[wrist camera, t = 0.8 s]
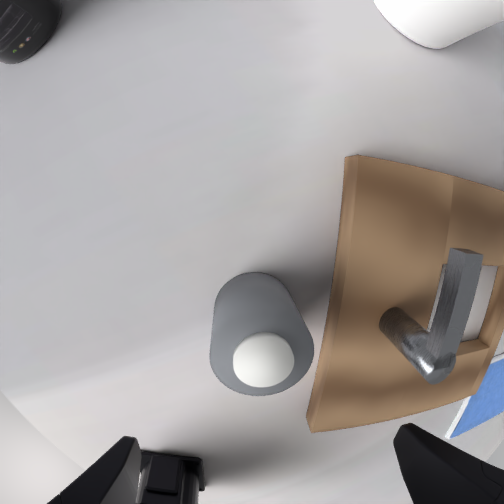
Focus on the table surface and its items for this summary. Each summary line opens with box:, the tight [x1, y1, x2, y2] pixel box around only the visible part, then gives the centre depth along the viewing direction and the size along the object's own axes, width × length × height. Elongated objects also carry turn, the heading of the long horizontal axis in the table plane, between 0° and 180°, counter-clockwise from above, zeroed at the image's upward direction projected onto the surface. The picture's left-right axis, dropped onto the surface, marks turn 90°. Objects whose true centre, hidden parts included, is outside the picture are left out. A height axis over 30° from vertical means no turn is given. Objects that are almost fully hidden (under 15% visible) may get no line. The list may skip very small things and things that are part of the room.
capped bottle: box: [210, 272, 314, 396], centre depth 16 cm, size 5×5×6 cm
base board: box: [306, 155, 504, 433], centre depth 19 cm, size 20×19×2 cm
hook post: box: [379, 248, 483, 385], centre depth 14 cm, size 7×2×6 cm, turn 176°
